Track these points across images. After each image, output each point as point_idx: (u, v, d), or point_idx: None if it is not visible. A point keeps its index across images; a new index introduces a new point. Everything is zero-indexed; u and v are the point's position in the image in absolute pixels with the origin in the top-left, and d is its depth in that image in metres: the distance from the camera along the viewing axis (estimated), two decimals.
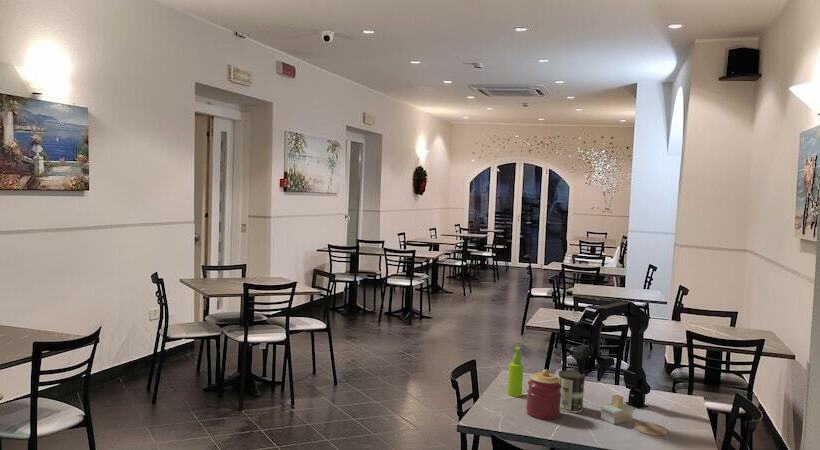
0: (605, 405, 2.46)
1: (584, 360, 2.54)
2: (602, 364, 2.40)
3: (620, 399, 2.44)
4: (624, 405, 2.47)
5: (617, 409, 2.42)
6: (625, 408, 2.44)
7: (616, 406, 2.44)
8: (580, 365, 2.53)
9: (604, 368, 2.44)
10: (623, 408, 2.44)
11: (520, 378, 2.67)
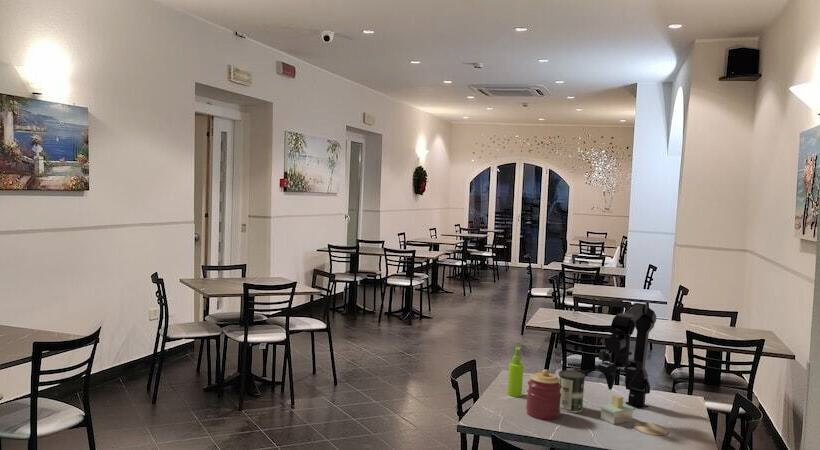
0: (605, 405, 2.46)
1: (631, 374, 2.46)
2: None
3: (620, 399, 2.44)
4: (624, 405, 2.47)
5: (617, 409, 2.42)
6: (625, 408, 2.44)
7: (616, 406, 2.44)
8: (626, 377, 2.48)
9: (610, 377, 2.41)
10: (623, 408, 2.44)
11: (520, 378, 2.67)
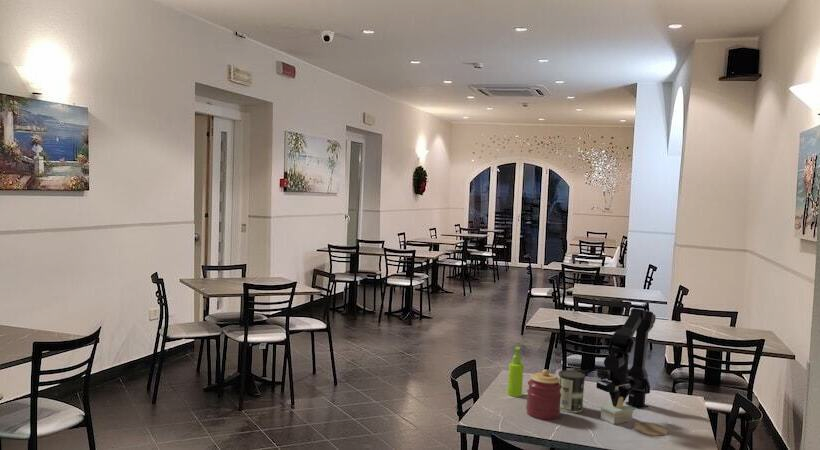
0: (605, 405, 2.46)
1: (625, 392, 2.45)
2: None
3: (620, 399, 2.44)
4: (624, 405, 2.47)
5: (617, 409, 2.42)
6: (625, 408, 2.44)
7: (616, 406, 2.44)
8: (619, 395, 2.46)
9: (615, 394, 2.43)
10: (623, 408, 2.44)
11: (520, 378, 2.67)
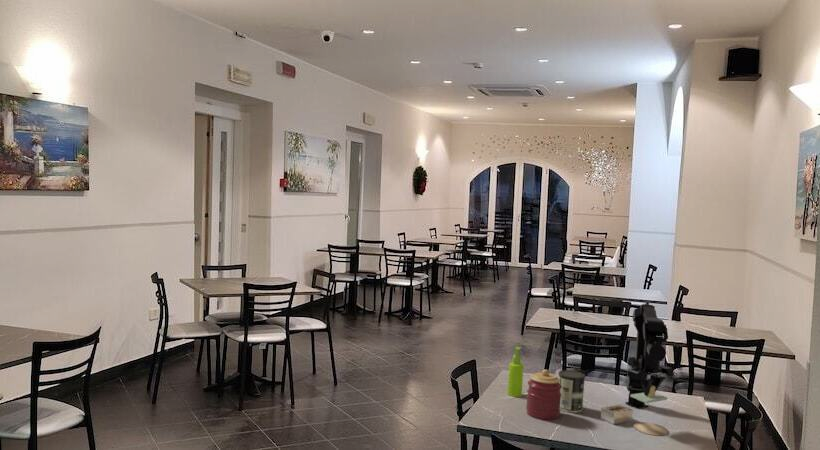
0: (636, 394, 2.38)
1: (657, 381, 2.37)
2: None
3: (652, 388, 2.36)
4: (656, 395, 2.40)
5: (649, 398, 2.35)
6: (657, 397, 2.36)
7: (648, 395, 2.36)
8: (651, 384, 2.39)
9: (646, 383, 2.35)
10: (655, 397, 2.36)
11: (520, 378, 2.67)
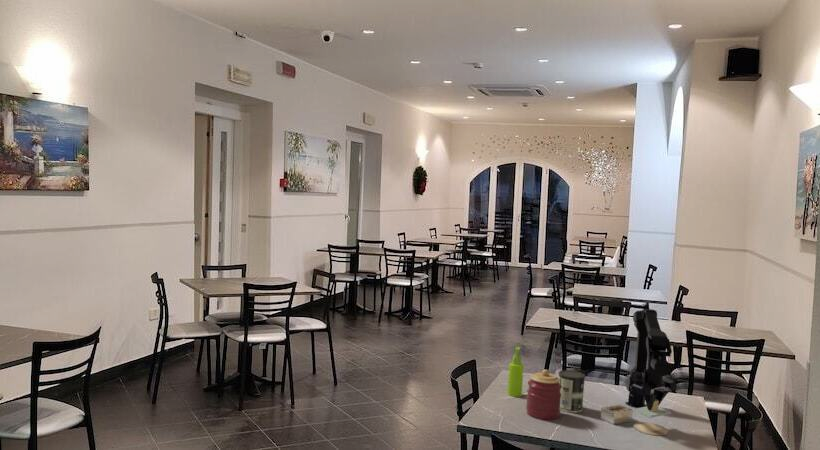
0: (639, 409, 2.38)
1: (660, 396, 2.37)
2: None
3: (655, 402, 2.36)
4: (659, 409, 2.39)
5: (652, 413, 2.34)
6: (660, 412, 2.36)
7: (651, 410, 2.36)
8: (654, 398, 2.39)
9: (650, 397, 2.35)
10: (658, 411, 2.36)
11: (520, 378, 2.67)
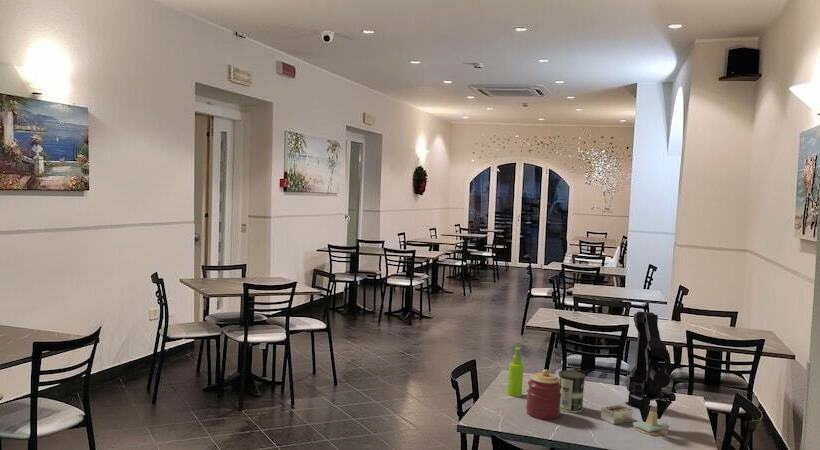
0: (638, 422, 2.38)
1: (663, 406, 2.38)
2: None
3: (654, 416, 2.36)
4: (658, 422, 2.40)
5: (651, 427, 2.34)
6: (659, 426, 2.36)
7: (650, 424, 2.36)
8: (658, 408, 2.40)
9: (644, 409, 2.34)
10: (657, 425, 2.36)
11: (520, 378, 2.67)
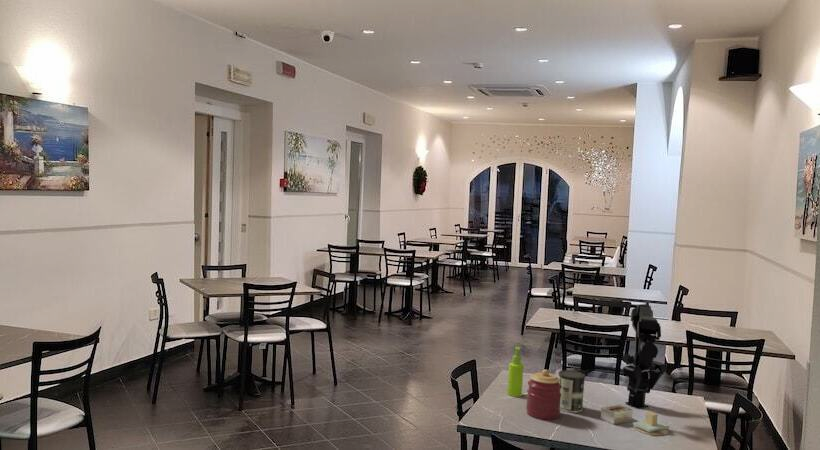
0: (638, 422, 2.38)
1: (656, 376, 2.48)
2: None
3: (654, 416, 2.36)
4: (658, 422, 2.40)
5: (651, 427, 2.34)
6: (659, 426, 2.36)
7: (650, 424, 2.36)
8: (650, 379, 2.50)
9: (635, 380, 2.43)
10: (657, 425, 2.36)
11: (520, 378, 2.67)
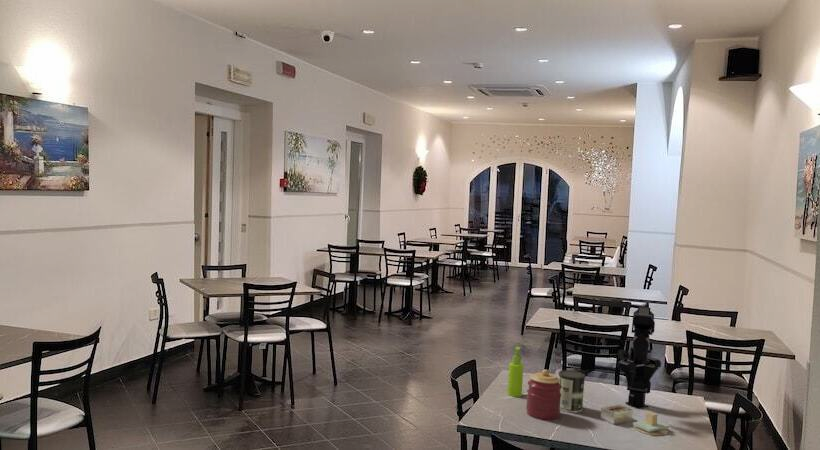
0: (638, 422, 2.38)
1: (650, 371, 2.53)
2: None
3: (654, 416, 2.36)
4: (658, 422, 2.40)
5: (651, 427, 2.34)
6: (659, 426, 2.36)
7: (650, 424, 2.36)
8: (645, 374, 2.54)
9: (630, 374, 2.48)
10: (657, 425, 2.36)
11: (520, 378, 2.67)
